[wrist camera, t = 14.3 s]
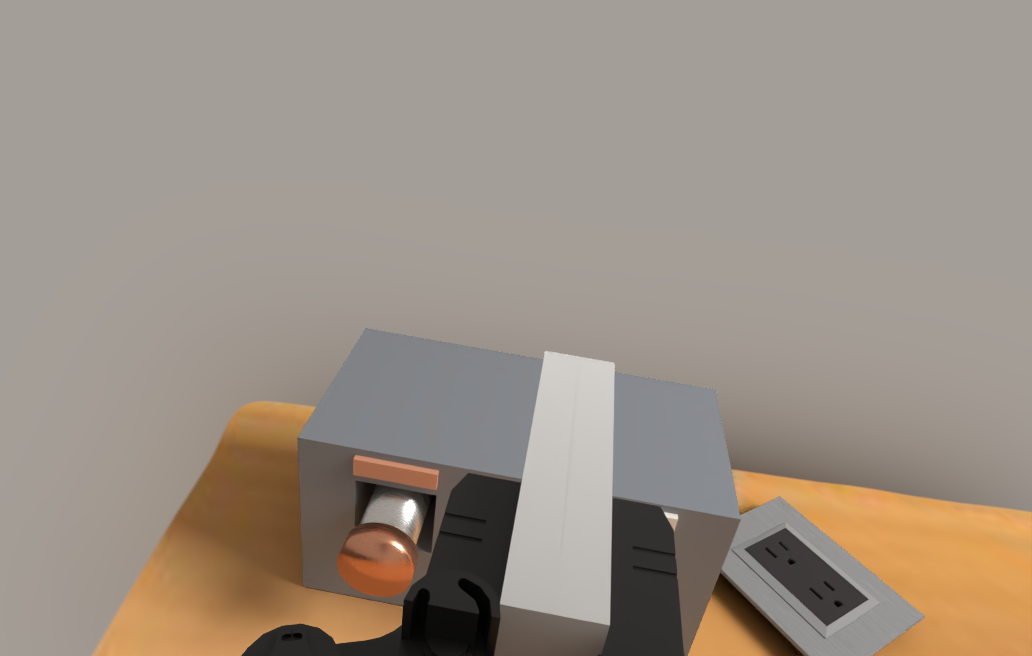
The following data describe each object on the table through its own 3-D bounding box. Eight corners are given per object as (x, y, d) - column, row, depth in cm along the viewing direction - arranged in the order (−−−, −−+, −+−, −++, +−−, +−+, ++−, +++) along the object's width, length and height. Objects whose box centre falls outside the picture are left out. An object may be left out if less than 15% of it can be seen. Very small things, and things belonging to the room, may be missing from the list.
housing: (685, 666, 47) (742, 524, 40) (300, 591, 48) (294, 441, 42) (673, 518, 59) (715, 389, 52) (362, 461, 60) (365, 328, 53)
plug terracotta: (410, 603, 42) (414, 550, 40) (336, 588, 42) (336, 535, 40) (450, 471, 52) (455, 423, 49) (391, 460, 52) (393, 412, 50)
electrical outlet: (913, 635, 52) (926, 613, 51) (823, 700, 47) (836, 678, 46) (772, 514, 61) (780, 493, 60) (683, 557, 56) (691, 535, 55)
